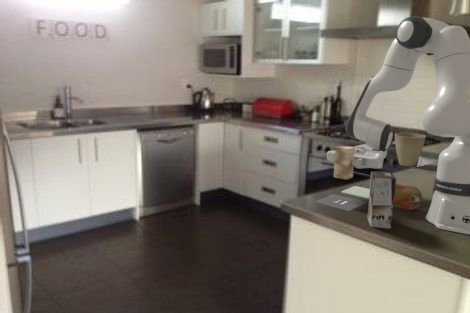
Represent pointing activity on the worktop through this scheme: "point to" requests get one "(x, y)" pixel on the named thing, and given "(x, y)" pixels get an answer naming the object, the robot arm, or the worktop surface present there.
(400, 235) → the worktop surface
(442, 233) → the worktop surface
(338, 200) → the tile
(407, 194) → the tin
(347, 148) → the beech block
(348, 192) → the board
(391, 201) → the coffee box
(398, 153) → the plant pot
